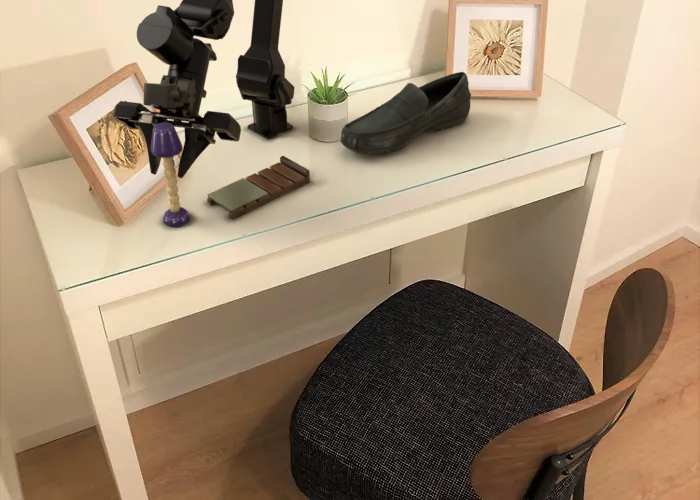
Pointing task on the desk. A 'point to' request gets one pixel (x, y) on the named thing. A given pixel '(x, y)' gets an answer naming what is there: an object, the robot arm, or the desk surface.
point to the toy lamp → (169, 170)
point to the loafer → (410, 115)
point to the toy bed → (260, 187)
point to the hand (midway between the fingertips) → (166, 175)
